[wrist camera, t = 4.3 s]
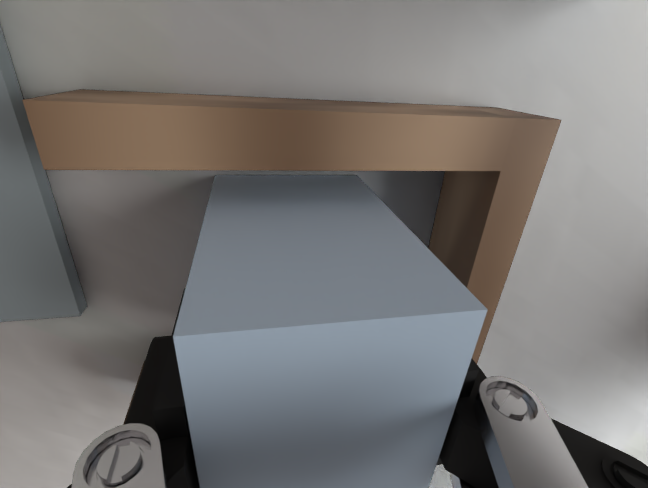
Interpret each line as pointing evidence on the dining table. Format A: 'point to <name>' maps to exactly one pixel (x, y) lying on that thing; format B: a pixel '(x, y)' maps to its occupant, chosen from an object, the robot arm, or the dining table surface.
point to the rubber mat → (29, 220)
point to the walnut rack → (325, 156)
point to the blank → (318, 339)
